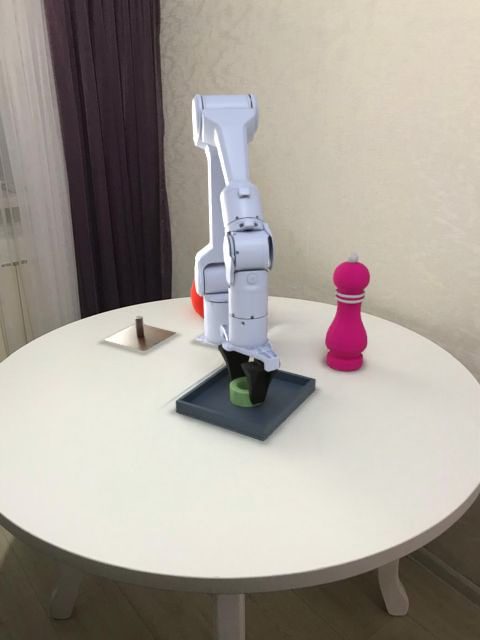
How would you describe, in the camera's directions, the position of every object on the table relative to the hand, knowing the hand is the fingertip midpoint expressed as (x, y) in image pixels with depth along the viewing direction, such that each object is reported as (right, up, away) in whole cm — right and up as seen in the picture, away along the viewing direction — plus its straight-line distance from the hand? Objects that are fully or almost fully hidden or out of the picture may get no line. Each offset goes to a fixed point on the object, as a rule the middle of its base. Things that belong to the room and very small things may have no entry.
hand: (248, 393), depth 92 cm
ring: (0, -1, 0) cm, 1 cm away
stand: (-20, +9, +23) cm, 32 cm away
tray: (0, -1, +1) cm, 1 cm away
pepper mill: (+17, +4, +12) cm, 22 cm away
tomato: (-6, +14, +34) cm, 37 cm away
